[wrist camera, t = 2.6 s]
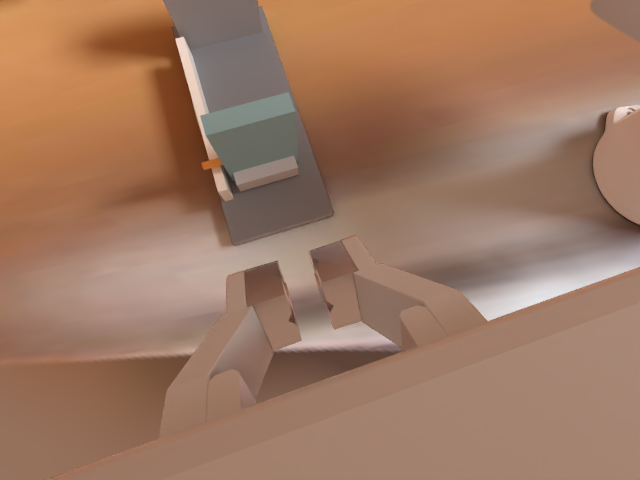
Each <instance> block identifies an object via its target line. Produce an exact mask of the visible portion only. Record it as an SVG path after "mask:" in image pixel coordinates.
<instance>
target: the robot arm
mask: <svg viewBox="0 0 640 480" xmlns="http://www.w3.org/2000/svg"><path fill="white" fill-rule="evenodd" d="M593 170H594V175H595V179H596V182H597V184H598V187H599V189H600V191H601V192H602V194H603V196H604V197H605V198H606V200H607V201H608V202H609V203H610V205H611V206H612V207H613V208H614V209H615V210H616V211H618V212H619V213H620V214H621V215H623V216H624V217H626V218H627V219H629V220H631V221H632V222H634V223H637V224H639V225H640V105H635V106H624V107H618V108H616V109H614V110H612V111H610V112H609V113H608V115H607V118H606V127H605V132H604V134H603V136H602V137H601V139H600V141H599V142H598V144H597V146H596V149H595V152H594V157H593ZM309 256H310V259H311V263H312V266H313V268H314V271H315V273H314V274H315V277H316V281H317V284H318V288H319V291H320V294H321V296H322V299H323V302H324V303H325V305H326V309H327V312H328V315H329V318H330V320H331V323H332V325H333V328H334V329H337V328H340V327H343V326H347V325H350V324H353V323H356V322H359V321H362V322H363V323H365V324H366V325H368V326H369V327H371V328H372V329H374V330H375V331H377V332H379V333H380V334H382V335H383V336H385V337H386V338H388V339H389V340H391V341H392V342H394V343H395V344H397V345H398V346H400V347H401V348H402V352H400V353H398V354H395V355H392V356H389V357H386V358H384V359H381V360H378V361H375V362H372V363H370V364H367V365H364V366H361V367H358V368H356V369H353V370H350V371H347V372H344V373H342V374H339V375H336V376H333V377H331V378H328V379H325V380H322V381H319V382H316V383H314V384H311V385H308V386H305V387H303V388H300V389H297V390H294V391H291V392H289V393H286V394H283V395H280V396H277V397H275V398H272V399H269V400H266V401H263V402H261V403H258V404H257V403H256V401H255V399H256V396H257V394H258V391H259V389H260V386H261V384H262V381H263V378H264V376H265V373H266V371H267V368H268V366H269V363H270V361H271V358H272V356H273V353H274V352H273V351H275V350H277V349H280V348H283V347H286V346H288V345H291V344H294V343H296V342H299V341H302V340H301V336H300V332H299V328H298V324H297V321H296V318H295V315H294V308H293V305H292V301H291V298H290V295H289V291H288V288H287V285H286V283H285V282H284V278H283V275H282V271H281V268H280V266H279V263H278V261H275V262H271V263H268V264H264V265H261V266H258V267H254V268H251V269H247V270H245V271H241V272H238V273H234V274H231V275H228V277H227V279H226V300H227V314H225V315H222V316H221V317H220V318H219V320H218V321H217V322H216V324H215V325H214V327H213V328H212V329H211V331H210V332H209V333H208V335H207V336H206V337H205V339H204V340H203V342H202V343H201V344H200V346H199V347H198V348H197V350H196V351H195V352H194V354H193V355H192V356H191V358H190V359H189V361H188V362H187V364H186V365H185V366H184V368H183V369H182V370H181V372H180V373H179V374H178V376H177V377H176V379H175V380H174V381H173V382H172V384H171V385H170V387H169V388H168V389H167V393H166V399H165V404H164V410H163V416H162V422H161V428H160V433H159V439H157V440H154V441H152V442H149V443H146V444H143V445H140V446H138V447H135V448H132V449H129V450H127V451H124V452H121V453H118V454H115V455H113V456H110V457H107V458H104V459H102V460H99V461H96V462H93V463H90V464H87V465H85V466H82V467H79V468H76V469H74V470H71V471H68V472H65V473H62V474H59V475H57V476H54V477H51V478H48V479H45V480H640V267H638V268H635V269H632V270H630V271H627V272H624V273H621V274H618V275H616V276H613V277H610V278H607V279H604V280H602V281H599V282H596V283H593V284H590V285H588V286H585V287H582V288H579V289H576V290H574V291H571V292H568V293H565V294H563V295H560V296H557V297H554V298H551V299H549V300H546V301H543V302H540V303H537V304H535V305H532V306H529V307H526V308H523V309H521V310H518V311H515V312H512V313H509V314H507V315H504V316H501V317H498V318H496V319H493V320H490V321H487V320H486V319H485V318H484V317H483V316H482V315H481V314H480V312H479V311H478V310H477V309H476V308H475V307H474V306H473V305H472V304H471V303H470V302H469V301H468V300H467V299H466V298H465V296H464V295H463V294H462V293H461V292H460V291H459V290H457V289H454V288H451V287H448V286H445V285H442V284H440V283H437V282H434V281H431V280H428V279H425V278H422V277H420V276H417V275H414V274H411V273H408V272H405V271H402V270H400V269H397V268H394V267H391V266H388V265H385V264H382V263H381V264H378V265H377V264H376V262H375V261H374V259H373V258H372V257H371V255H370V254H369V252H368V251H367V249H366V248H365V246H364V245H363V244H362V242H361V241H360V239H359V238H358V236H356V235H354V236H351V237H349V238H346V239H343V240H340V241H338V242H335V243H332V244H329V245H326V246H323V247H320V248H317V249H314V250H311V251H309Z"/></svg>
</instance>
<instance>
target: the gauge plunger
mask: <svg viewBox="0 0 640 480" xmlns="http://www.w3.org/2000/svg"><path fill="white" fill-rule="evenodd" d="M200 117H201V121H202V124H203V128H204V132H205V135H206V137H207V139H208V140H209V142H210V144H211V145H212V147H213V149H214V151H215V152H216V154H217V156H218V157H219V158H216V159H213V160H209V161H205V162H202V163H201V164H202V167H203V169H204V170H207V169H210V168H214V167H217V166H221V165H223V166H224V167H225V169H226V171H227V172H228V174H229V176H230V177H231V179H232V181H236V185H237V187H238V188H239V190H240V192H241V191H245V190H248V189H251V188H255V187H258V186H262V185H265V184H269V183H272V182H275V181H279V180H282V179H286V178H289V177H292V176H296V175H299V172H298V165H297V163H298V162H299V156H298V142H297V127H296V113H295V109H294V106H293V103H292V100H291V97H290V94H289V92H287V93H283V94H280V95H276V96H272V97H268V98H265V99H261V100H257V101H253V102H249V103H246V104H242V105H238V106H234V107H231V108H227V109H223V110H219V111H216V112H212V113H208V114H204V115H200Z"/></svg>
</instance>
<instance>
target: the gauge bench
mask: <svg viewBox="0 0 640 480" xmlns="http://www.w3.org/2000/svg"><path fill="white" fill-rule="evenodd" d="M163 1H164V3H165V6H166V8H167V10H168V12H169V14H170V16H171V18H172V20H173V22H174V25H175V27H172V29H173V33H174V36H175V40H176V43H177V47H178V51H179V54H180V58H181V61H182V65H183V69H184V72H185V76H186V79H187V83H188V86H189V90H190V94H191V97H192V101H193V102H192V104H193V108H194V111H195V115H196V118H197V122H198V125H199V127H200V129H201V133H202V137H203V140H204V144H205V147H206V151H207V155H208V158H209V160H213V159H216V158H219V157H218V156H217V154H216V152H215V151H214V149H213V147H212V145H211V144H210V142H209V140H208V139H207V137H206V135H205V132H204V128H203V124H202V121H201V117H200V115H204V114H208V113H212V112H216V111H219V110H223V109H227V108H231V107H234V106H238V105H242V104H246V103H249V102H253V101H257V100H261V99H265V98H268V97H272V96H276V95H280V94H283V93H287V92H289V94H290V97H291V100H292V103H293V106H294V109H295V113H296V127H297V142H298V156H299V162H298V163H297V165H298V172H299V175H296V176H292V177H289V178H286V179H282V180H279V181H275V182H272V183H269V184H265V185H262V186H258V187H255V188H251V189H248V190H245V191H241V192H240V190H239V188H238V187H237V185H236V181H232V179H231V177H230V176H229V174H228V172H227V171H226V169H225V167H224V166H223V165H221V166H217V167H214V168H210V169H211V171H212V172H213V176H214V180H215V183H216V187H217V190H218V194H219V197H220V201H221V205H222V208H223V212H224V215H225V219H226V222H227V226H228V230H229V233H230V237H231V240H232V244H234V245H235V246H237V245H240V244H243V243H247V242H250V241H253V240H256V239H259V238H263V237H266V236H269V235H272V234H276V233H279V232H282V231H285V230H289V229H292V228H295V227H298V226H302V225H305V224H308V223H311V222H315V221H318V220H321V219H324V218H328V217H331V216H333V213H334V212H333V209H332V206H331V203H330V200H329V197H328V194H327V192H326V189H325V186H324V183H323V180H322V177H321V174H320V171H319V169H318V166H317V163H316V160H315V157H314V154H313V151H312V149H311V146H310V143H309V140H308V137H307V134H306V131H305V129H304V126H303V123H302V120H301V117H300V114H299V111H298V109H297V106H296V103H295V100H294V97H293V94H292V91H291V89H290V86H289V83H288V80H287V77H286V74H285V71H284V69H283V66H282V63H281V60H280V57H279V54H278V51H277V49H276V46H275V43H274V40H273V37H272V34H271V31H270V29H269V26H268V23H267V20H266V17H265V14H264V11H263V9H262V6H260V7H258V1H257V0H163Z"/></svg>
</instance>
